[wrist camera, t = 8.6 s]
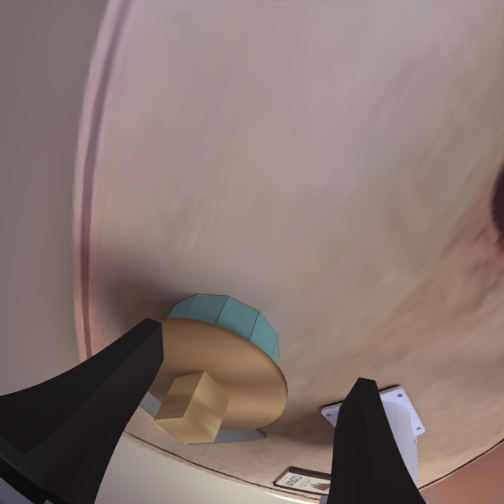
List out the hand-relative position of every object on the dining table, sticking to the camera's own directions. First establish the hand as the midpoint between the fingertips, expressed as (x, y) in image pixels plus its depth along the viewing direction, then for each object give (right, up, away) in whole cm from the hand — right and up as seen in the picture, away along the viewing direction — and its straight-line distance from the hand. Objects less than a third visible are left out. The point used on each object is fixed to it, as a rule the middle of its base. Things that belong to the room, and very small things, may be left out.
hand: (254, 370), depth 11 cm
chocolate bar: (+13, -30, +27) cm, 42 cm away
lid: (-3, -5, +12) cm, 13 cm away
